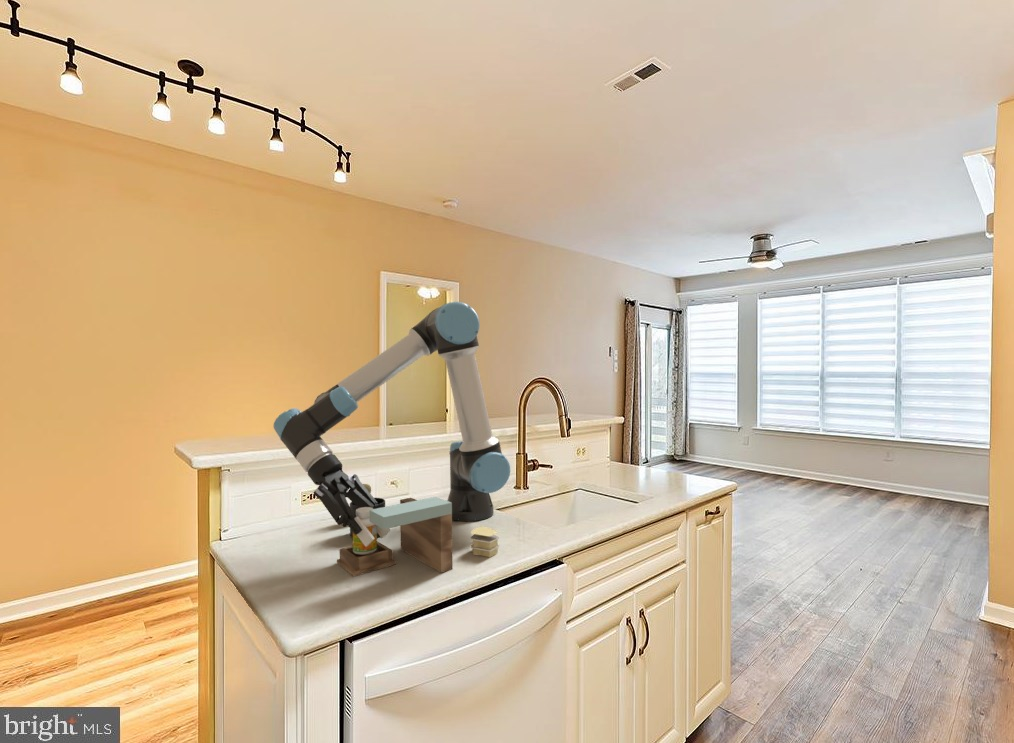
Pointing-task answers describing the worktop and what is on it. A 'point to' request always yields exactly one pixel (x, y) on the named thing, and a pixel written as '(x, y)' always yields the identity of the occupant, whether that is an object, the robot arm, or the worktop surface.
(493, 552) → the pale yellow layered block
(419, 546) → the wall
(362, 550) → the supplement bottle
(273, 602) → the worktop surface
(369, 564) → the brown wooden square tray
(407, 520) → the plank
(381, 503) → the mug
